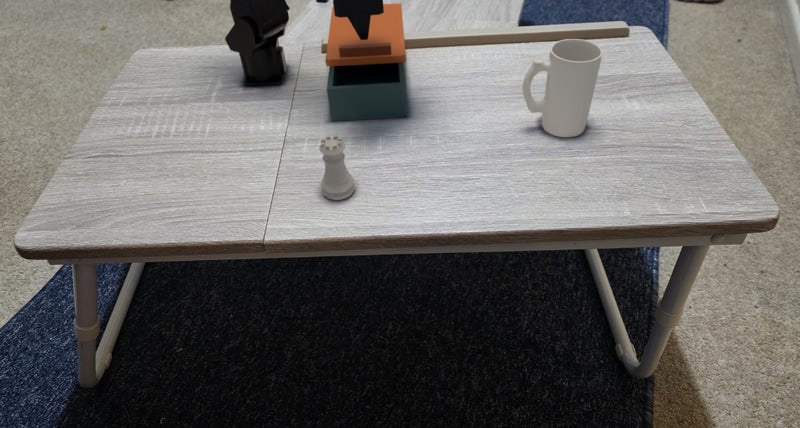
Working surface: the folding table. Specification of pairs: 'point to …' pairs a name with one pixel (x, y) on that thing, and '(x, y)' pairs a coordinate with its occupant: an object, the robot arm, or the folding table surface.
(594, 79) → the mug
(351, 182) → the rook chess piece
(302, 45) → the folding table surface
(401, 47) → the bin lid
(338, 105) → the bin
